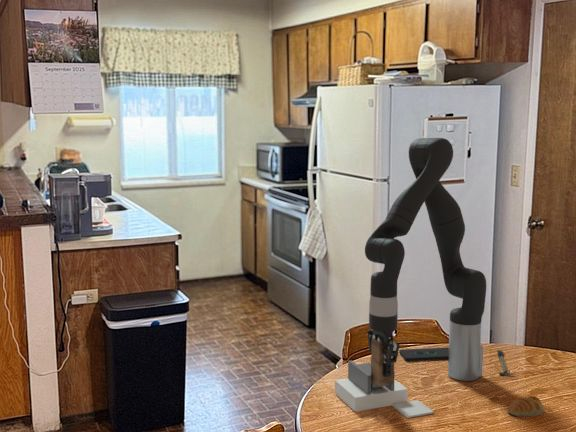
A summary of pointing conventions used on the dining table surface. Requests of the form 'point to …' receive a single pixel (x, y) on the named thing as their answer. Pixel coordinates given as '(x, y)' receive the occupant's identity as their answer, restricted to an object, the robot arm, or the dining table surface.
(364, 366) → the rocker
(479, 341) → the robot arm
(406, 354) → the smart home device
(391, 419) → the dining table surface
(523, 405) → the pastry
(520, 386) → the dining table surface
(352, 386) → the grey slotted holder
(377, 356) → the peg
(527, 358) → the dining table surface
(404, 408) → the mat
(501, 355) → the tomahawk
